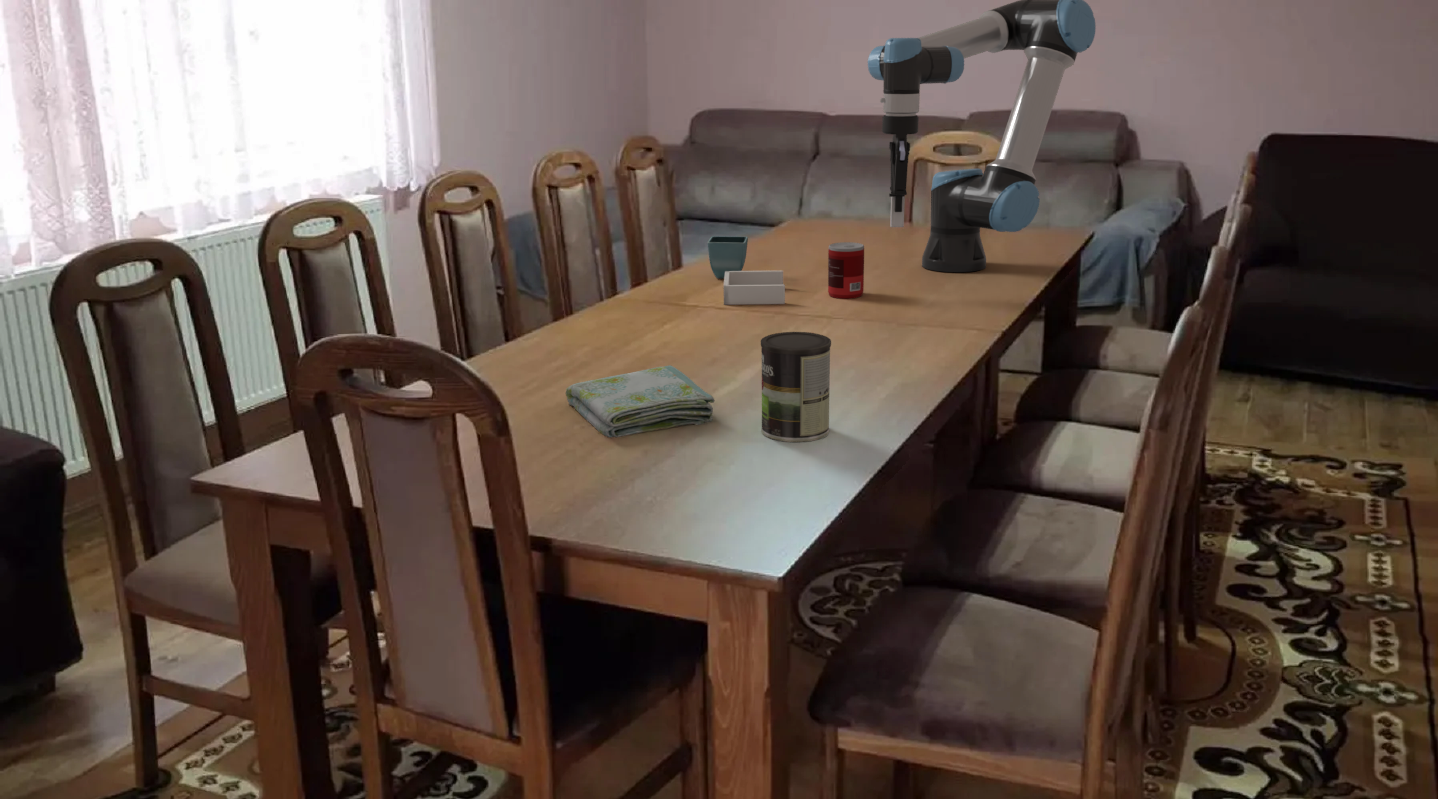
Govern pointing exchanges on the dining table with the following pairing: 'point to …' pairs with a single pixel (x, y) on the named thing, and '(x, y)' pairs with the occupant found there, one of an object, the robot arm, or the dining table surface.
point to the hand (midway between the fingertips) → (896, 226)
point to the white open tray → (754, 287)
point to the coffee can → (795, 386)
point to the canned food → (846, 270)
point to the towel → (641, 401)
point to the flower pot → (727, 254)
